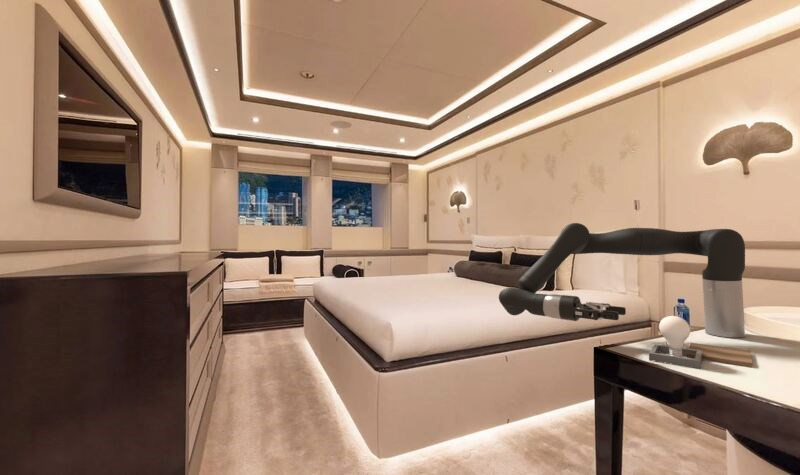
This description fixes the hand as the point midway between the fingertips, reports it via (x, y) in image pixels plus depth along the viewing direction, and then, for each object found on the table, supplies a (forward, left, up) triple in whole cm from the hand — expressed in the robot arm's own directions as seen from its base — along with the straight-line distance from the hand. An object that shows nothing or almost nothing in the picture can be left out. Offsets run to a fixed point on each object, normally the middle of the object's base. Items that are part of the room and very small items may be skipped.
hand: (622, 313), depth 98 cm
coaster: (-9, +20, -10) cm, 24 cm away
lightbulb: (0, +12, -11) cm, 16 cm away
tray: (0, +12, -10) cm, 15 cm away
